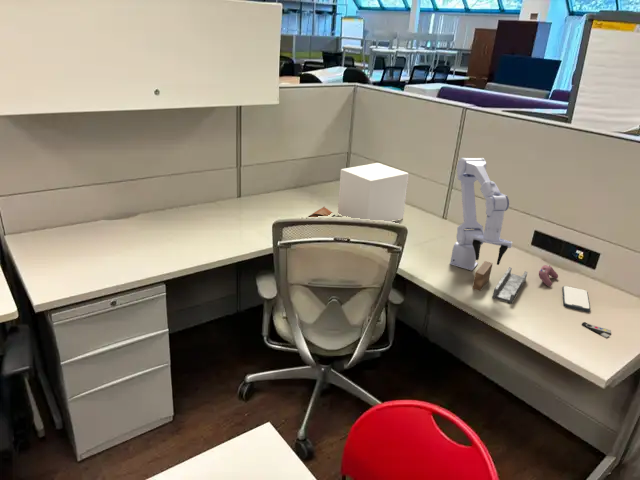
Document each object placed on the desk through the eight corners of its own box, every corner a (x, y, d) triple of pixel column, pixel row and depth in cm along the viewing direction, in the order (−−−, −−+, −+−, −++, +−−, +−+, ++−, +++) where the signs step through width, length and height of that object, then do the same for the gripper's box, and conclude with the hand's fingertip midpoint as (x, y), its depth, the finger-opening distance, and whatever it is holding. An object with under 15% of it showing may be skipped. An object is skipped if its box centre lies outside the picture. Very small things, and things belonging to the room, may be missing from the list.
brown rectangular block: (472, 288, 183) (475, 272, 181) (481, 276, 193) (484, 260, 190) (480, 291, 182) (483, 274, 179) (489, 279, 191) (492, 263, 188)
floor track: (492, 297, 178) (494, 289, 177) (507, 274, 195) (509, 267, 194) (511, 303, 175) (514, 295, 173) (525, 280, 192) (527, 272, 190)
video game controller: (547, 279, 197) (543, 262, 196) (559, 277, 194) (554, 261, 193) (539, 287, 190) (535, 271, 189) (552, 286, 187) (547, 269, 186)
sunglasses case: (321, 226, 232) (315, 213, 231) (310, 230, 236) (304, 217, 235) (337, 214, 247) (331, 202, 246) (326, 218, 251) (320, 206, 250)
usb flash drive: (580, 325, 164) (581, 323, 164) (589, 321, 167) (590, 319, 166) (605, 339, 158) (606, 336, 157) (614, 334, 160) (615, 332, 160)
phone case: (561, 288, 188) (562, 307, 175) (562, 284, 188) (563, 303, 174) (586, 294, 185) (590, 313, 171) (587, 290, 184) (591, 309, 171)
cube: (373, 207, 261) (378, 162, 251) (402, 220, 245) (408, 173, 235) (337, 216, 246) (340, 169, 236) (366, 230, 231) (370, 180, 221)
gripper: (470, 226, 178) (465, 260, 183) (512, 234, 172) (505, 269, 177) (475, 221, 184) (470, 254, 189) (515, 228, 178) (509, 263, 182)
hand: (487, 261), depth 183 cm, fingers open, 7 cm apart
